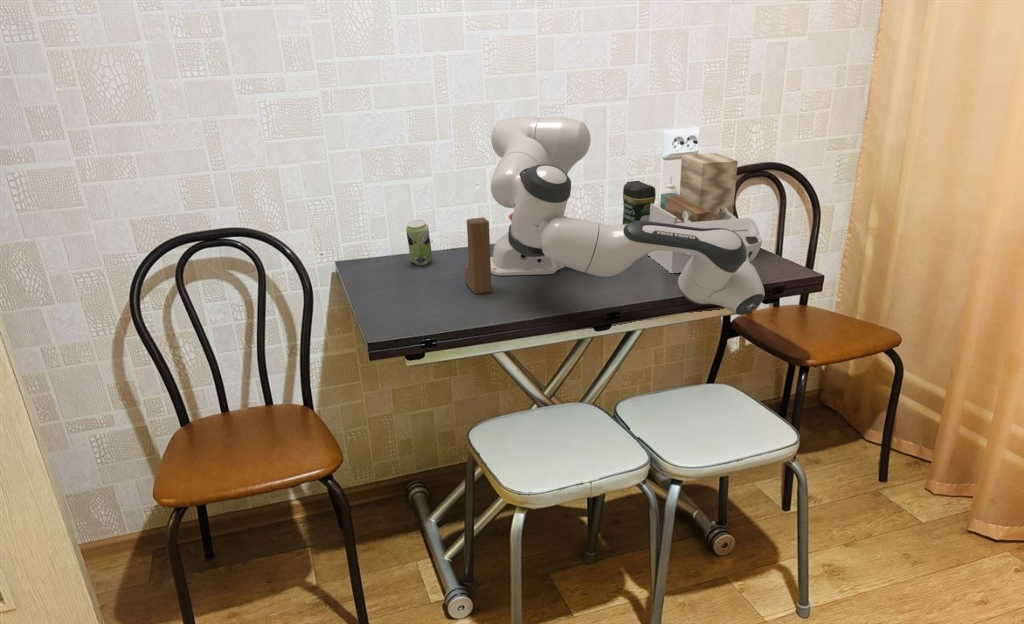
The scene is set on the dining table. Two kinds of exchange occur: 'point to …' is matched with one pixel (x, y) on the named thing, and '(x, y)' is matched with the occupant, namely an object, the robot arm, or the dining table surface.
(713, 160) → the tall patterned box
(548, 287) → the dining table surface
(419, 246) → the beverage can
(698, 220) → the brown rectangular block
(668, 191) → the sauce bottle
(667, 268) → the upright white box
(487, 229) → the wooden block
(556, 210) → the robot arm
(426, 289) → the dining table surface
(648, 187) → the coffee jar
